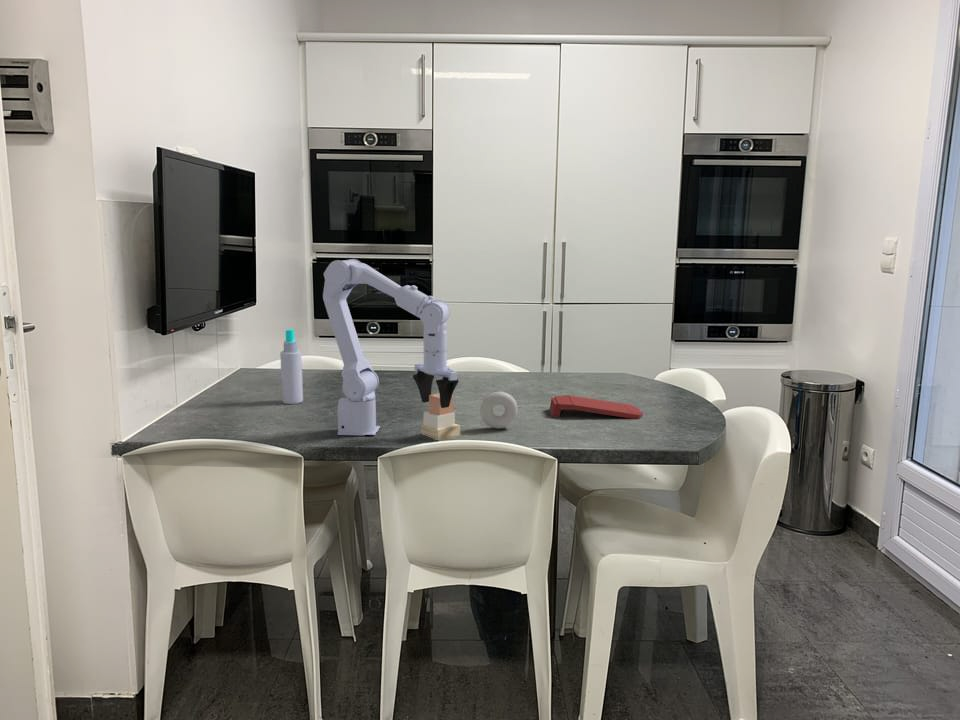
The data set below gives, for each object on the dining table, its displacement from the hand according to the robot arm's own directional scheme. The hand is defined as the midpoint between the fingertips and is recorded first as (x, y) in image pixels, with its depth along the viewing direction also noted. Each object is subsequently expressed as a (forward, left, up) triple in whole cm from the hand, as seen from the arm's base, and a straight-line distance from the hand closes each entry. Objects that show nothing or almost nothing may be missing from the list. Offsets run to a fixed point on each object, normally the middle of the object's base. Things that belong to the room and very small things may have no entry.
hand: (435, 404), depth 182 cm
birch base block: (+1, +2, -9) cm, 9 cm away
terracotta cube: (+1, +2, -2) cm, 4 cm away
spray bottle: (-47, +35, -9) cm, 60 cm away
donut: (+16, +10, -9) cm, 20 cm away
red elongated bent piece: (+43, +29, -9) cm, 52 cm away
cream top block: (+1, +2, -6) cm, 6 cm away
